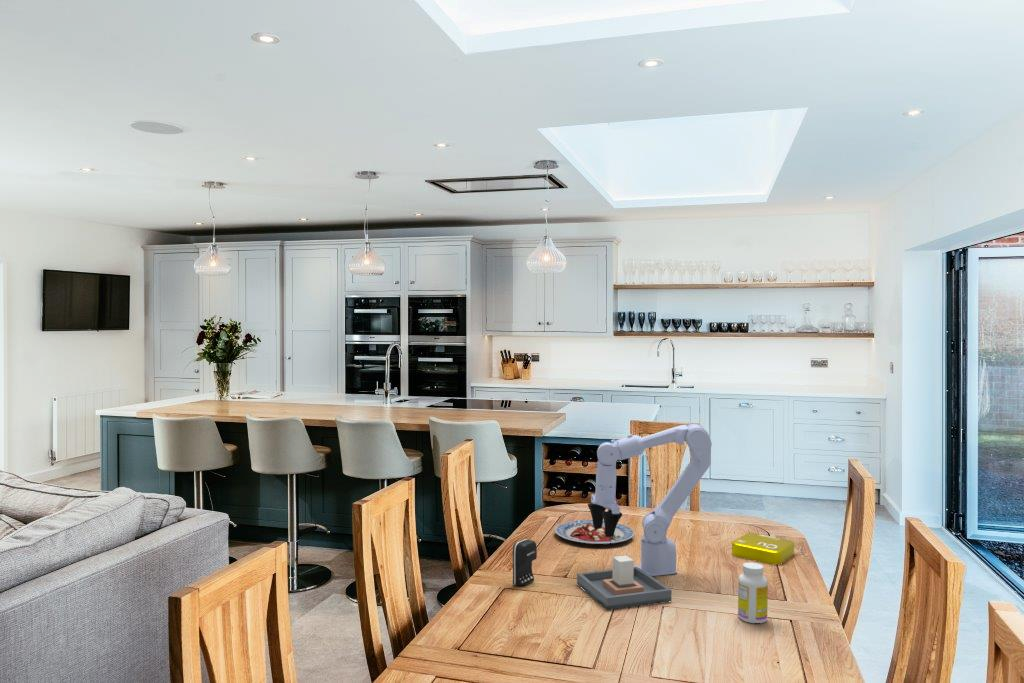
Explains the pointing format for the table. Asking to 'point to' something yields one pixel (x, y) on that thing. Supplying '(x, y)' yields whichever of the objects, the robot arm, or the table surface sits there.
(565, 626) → the table surface
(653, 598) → the walled box
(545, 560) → the table surface
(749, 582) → the supplement bottle
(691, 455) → the robot arm
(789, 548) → the element tile
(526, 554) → the battery charger
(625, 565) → the grey square prism
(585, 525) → the ceramic plate
